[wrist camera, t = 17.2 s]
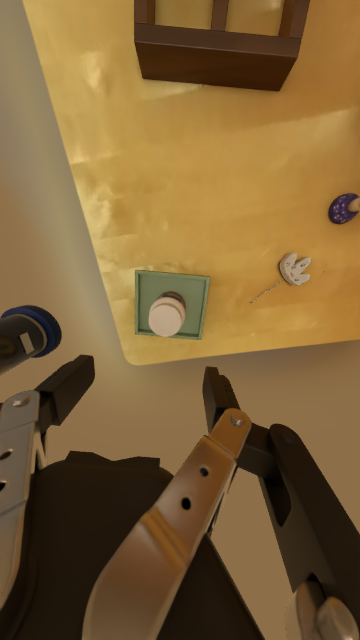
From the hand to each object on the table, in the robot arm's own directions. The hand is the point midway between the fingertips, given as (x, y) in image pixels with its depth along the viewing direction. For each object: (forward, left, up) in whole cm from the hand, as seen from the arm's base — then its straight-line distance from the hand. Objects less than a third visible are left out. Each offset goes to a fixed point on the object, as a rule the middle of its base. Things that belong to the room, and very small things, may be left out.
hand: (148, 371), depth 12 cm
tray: (0, 0, -22) cm, 22 cm away
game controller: (+19, +6, -22) cm, 30 cm away
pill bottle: (0, 0, -22) cm, 22 cm away
